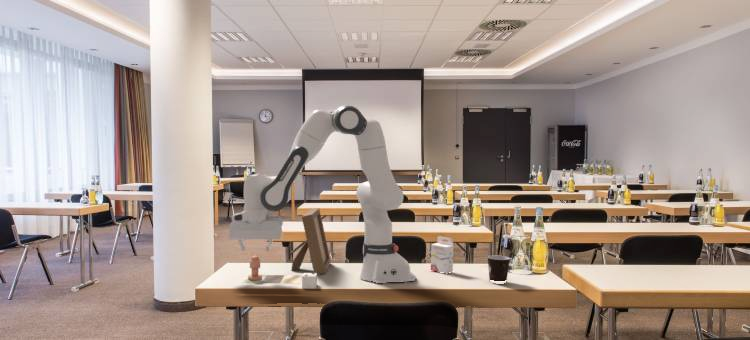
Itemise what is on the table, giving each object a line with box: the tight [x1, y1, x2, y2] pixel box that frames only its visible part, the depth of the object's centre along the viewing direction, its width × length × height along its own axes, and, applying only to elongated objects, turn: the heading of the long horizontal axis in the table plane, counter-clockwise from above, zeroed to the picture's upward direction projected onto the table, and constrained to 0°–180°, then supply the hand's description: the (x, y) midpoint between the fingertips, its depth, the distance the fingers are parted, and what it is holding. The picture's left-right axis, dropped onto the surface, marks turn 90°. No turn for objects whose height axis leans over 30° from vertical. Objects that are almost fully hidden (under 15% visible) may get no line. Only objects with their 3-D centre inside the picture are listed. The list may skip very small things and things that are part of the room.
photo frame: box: [291, 208, 332, 275], centre depth 214 cm, size 15×22×25 cm
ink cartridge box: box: [430, 235, 454, 274], centre depth 213 cm, size 9×5×15 cm, turn 49°
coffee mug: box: [487, 254, 511, 281], centre depth 196 cm, size 12×9×10 cm
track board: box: [242, 274, 303, 284], centre depth 195 cm, size 23×14×1 cm, turn 92°
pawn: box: [247, 255, 263, 281], centre depth 194 cm, size 5×5×9 cm
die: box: [301, 272, 318, 289], centre depth 185 cm, size 5×5×5 cm
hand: (256, 250), depth 194 cm, fingers open, 8 cm apart
